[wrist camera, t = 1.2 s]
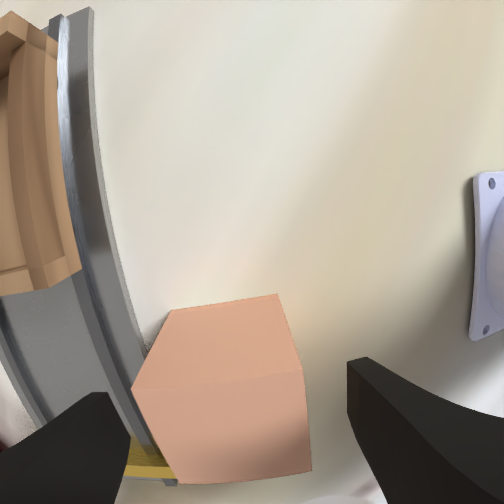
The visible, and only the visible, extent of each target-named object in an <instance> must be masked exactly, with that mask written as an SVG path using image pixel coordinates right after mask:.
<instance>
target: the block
mask: <svg viewBox="0 0 504 504" xmlns="http://www.w3.org/2000/svg"><path fill="white" fill-rule="evenodd" d="M131 391H132V393H133V396H134V398H135V400H136V402H137V404H138V407H139V409H140V411H141V413H142V415H143V417H144V419H145V421H146V423H147V425H148V427H149V429H150V431H151V433H152V435H153V437H154V439H155V441H156V443H157V445H158V446H159V448H160V450H161V452H162V454H163V456H164V457H165V459H166V461H167V463H168V464H169V466H170V468H171V469H172V471H173V473H174V475H175V476H176V478H177V480H178V481H179V483H180V484H209V483H228V482H241V481H251V480H260V479H268V478H275V477H282V476H288V475H294V474H299V473H305V472H310V471H312V463H311V450H310V438H309V426H308V415H307V404H306V394H305V384H304V375H303V368H302V365H301V362H300V359H299V356H298V353H297V350H296V347H295V344H294V341H293V338H292V335H291V332H290V329H289V326H288V323H287V320H286V317H285V314H284V311H283V308H282V305H281V302H280V299H279V296H278V294H272V295H266V296H260V297H254V298H248V299H242V300H236V301H230V302H223V303H217V304H210V305H203V306H197V307H190V308H183V309H175V310H171V311H170V313H169V315H168V317H167V319H166V321H165V323H164V325H163V326H162V328H161V330H160V332H159V334H158V336H157V338H156V340H155V342H154V344H153V346H152V348H151V350H150V352H149V353H148V355H147V357H146V359H145V361H144V363H143V365H142V367H141V369H140V371H139V373H138V375H137V377H136V379H135V381H134V383H133V385H132V387H131Z"/></svg>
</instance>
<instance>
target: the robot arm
mask: <svg viewBox="0 0 504 504" xmlns="http://www.w3.org/2000/svg"><path fill="white" fill-rule="evenodd" d="M489 181H490V187H489V184H488V183H489ZM473 192H474V207H475V275H474V290H473V302H472V311H471V319H470V327H469V338H470V339H471V340H473V341H475V342H476V341H479V340H481V339H483V338H486V337H488V336H490V335H492V334H494V333H496V332H498V331H500V330H502V329H504V171H499V172H480V173H477V174H476V175H475V176H474V179H473ZM347 414H348V417H349V420H350V423H351V426H352V429H353V431H354V434H355V437H356V440H357V442H358V444H359V446H360V448H361V450H362V452H363V454H364V456H365V458H366V460H367V462H368V464H369V466H370V468H371V470H372V472H373V474H374V476H375V478H376V480H377V481H378V483H379V485H380V487H381V489H382V491H383V494H384V496H385V498H386V500H387V503H388V504H504V418H501V417H496V416H492V415H488V414H485V413H481V412H478V411H475V410H472V409H469V408H466V407H463V406H460V405H457V404H455V403H452V402H450V401H448V400H445V399H443V398H441V397H439V396H436V395H434V394H432V393H430V392H428V391H426V390H424V389H422V388H420V387H418V386H416V385H415V384H413V383H411V382H409V381H407V380H405V379H404V378H402V377H400V376H399V375H397V374H395V373H393V372H392V371H390V370H388V369H387V368H385V367H383V366H382V365H380V364H379V363H377V362H375V361H374V360H372V359H370V358H368V357H363V358H359V359H355V360H352V361H348V362H347ZM130 442H131V436H130V434H129V433H128V431H127V429H126V427H125V425H124V423H123V421H122V420H121V418H120V416H119V414H118V412H117V410H116V408H115V406H114V404H113V402H112V400H111V398H110V396H109V394H108V392H91V393H89V394H88V395H86V396H85V397H83V398H82V399H80V400H79V401H77V402H76V403H74V404H73V405H72V406H70V407H69V408H68V409H66V410H65V411H64V412H62V413H61V414H59V415H58V416H57V417H55V418H54V419H53V420H51V421H50V422H49V423H47V424H46V425H44V426H43V427H42V428H40V429H39V430H37V431H36V432H34V433H33V434H31V435H30V436H28V437H27V438H25V439H24V440H22V441H21V442H19V443H17V444H16V445H14V446H12V447H10V448H8V449H6V450H5V451H3V452H1V453H0V504H114V502H115V499H116V496H117V493H118V490H119V487H120V484H121V481H122V477H123V474H124V471H125V468H126V465H127V460H128V455H129V449H130Z"/></svg>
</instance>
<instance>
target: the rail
mask: <svg viewBox="0 0 504 504" xmlns="http://www.w3.org/2000/svg"><path fill="white" fill-rule="evenodd" d="M93 19H94V11H93V10H92V9H91V8H90V7H87V8H84V9H82V10H80V11H78V12H76V13H73V14H71V15H69V16H67V17H64V16H63V15H62V14H60V15H58V16H56V17H54V18H52V19H50V20H49V26H47V27H46V28H44V29H42V30H41V31H42V32H44V33H45V34H47V35H48V36H49V37H51V38H52V39H54V40H55V41H57V42H58V62H57V77H58V83H59V85H58V90H57V102H58V123H59V137H60V148H61V158H62V166H63V174H64V181H65V188H66V194H67V200H68V206H69V212H70V217H71V222H72V224H73V226H74V230H75V241H76V245H77V250H78V254H79V258H80V262H81V266H82V269H81V270H79V271H77V272H76V273H74V274H72V275H70V276H69V277H67V278H65V279H64V280H62V281H60V282H58V283H57V284H55V285H53V286H52V287H50V288H47V289H41V290H35V291H29V292H23V293H17V294H11V295H5V296H0V360H1V363H2V365H3V367H4V369H5V371H6V373H7V375H8V377H9V379H10V381H11V383H12V385H13V387H14V389H15V391H16V393H17V394H18V396H19V398H20V400H21V402H22V403H23V405H24V407H25V409H26V410H27V412H28V414H29V415H30V417H31V419H32V420H33V422H34V423H35V425H36V427H37V428H38V430H39V429H40V428H42V427H43V426H44V425H46V424H47V423H49V422H50V421H51V420H53V419H54V418H55V417H57V416H58V415H59V414H61V413H62V412H64V411H65V410H66V409H68V408H69V407H70V406H72V405H73V404H74V403H76V402H77V401H79V400H80V399H82V398H83V397H85V396H86V395H88V394H89V393H91V392H108V394H109V396H110V398H111V400H112V402H113V404H114V406H115V408H116V410H117V412H118V414H119V416H120V418H121V420H122V421H123V423H124V425H125V427H126V429H127V431H128V433H129V434H130V436H131V442H130V449H129V455H128V460H127V465H126V468H125V471H124V474H123V477H122V478H131V479H142V480H159V481H163V482H164V483H165V485H166V486H177V482H178V480H177V478H176V476H175V475H174V473H173V471H172V469H171V468H170V466H169V464H168V463H167V461H166V459H165V457H164V456H163V454H162V452H161V450H160V448H159V446H158V445H157V443H156V441H155V439H154V437H153V435H152V433H151V431H150V429H149V427H148V425H147V423H146V421H145V419H144V417H143V415H142V413H141V411H140V409H139V407H138V404H137V402H136V400H135V398H134V396H133V393H132V391H131V387H132V385H133V383H134V381H135V379H136V377H137V375H138V373H139V371H140V369H141V367H142V365H143V363H144V361H145V359H146V357H147V355H148V353H147V351H146V348H145V345H144V342H143V339H142V336H141V333H140V330H139V326H138V323H137V320H136V317H135V314H134V310H133V307H132V303H131V300H130V296H129V293H128V289H127V286H126V282H125V278H124V274H123V270H122V266H121V262H120V258H119V254H118V250H117V246H116V241H115V237H114V232H113V227H112V222H111V217H110V212H109V207H108V202H107V196H106V190H105V184H104V178H103V171H102V164H101V157H100V149H99V141H98V132H97V122H96V110H95V96H94V76H93Z"/></svg>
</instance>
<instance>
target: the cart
mask: <svg viewBox="0 0 504 504" xmlns="http://www.w3.org/2000/svg"><path fill="white" fill-rule="evenodd" d="M57 62H58V42H57V41H55V40H54V39H52V38H51V37H49V36H48V35H47V34H45V33H44V32H42V31H41V30H39V29H38V28H36V27H35V26H33V25H32V24H31V23H29V22H28V21H26V20H25V19H23V18H22V17H20V16H19V15H17V14H15V13H14V12H12V11H10V12H8V13H7V14H6V15H4V16H3V17H1V18H0V296H5V295H11V294H17V293H23V292H29V291H35V290H41V289H47V288H50V287H52V286H53V285H55V284H57V283H58V282H60V281H62V280H64V279H65V278H67V277H69V276H70V275H72V274H74V273H76V272H77V271H79V270H81V269H82V266H81V262H80V258H79V254H78V250H77V245H76V241H75V230H74V226H73V224H72V222H71V217H70V212H69V206H68V200H67V194H66V188H65V181H64V174H63V166H62V158H61V148H60V137H59V123H58V102H57V90H58V85H59V83H58V77H57Z"/></svg>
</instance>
